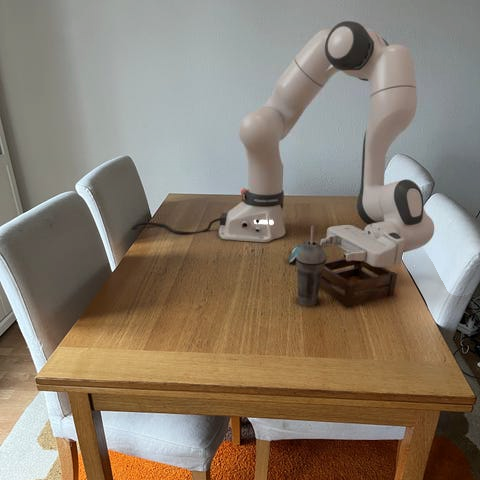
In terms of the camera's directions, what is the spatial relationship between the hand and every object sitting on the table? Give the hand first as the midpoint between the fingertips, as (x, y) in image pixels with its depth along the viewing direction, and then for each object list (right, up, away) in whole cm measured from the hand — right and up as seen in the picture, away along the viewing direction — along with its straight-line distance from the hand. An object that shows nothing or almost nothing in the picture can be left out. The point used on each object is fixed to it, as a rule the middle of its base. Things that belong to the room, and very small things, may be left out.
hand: (333, 250), depth 115 cm
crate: (+7, -9, +9) cm, 15 cm away
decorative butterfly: (-4, +1, +26) cm, 26 cm away
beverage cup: (-6, -12, +4) cm, 14 cm away
